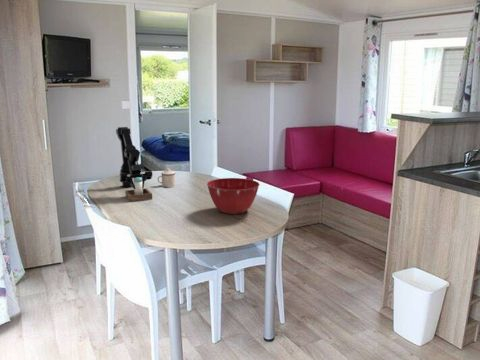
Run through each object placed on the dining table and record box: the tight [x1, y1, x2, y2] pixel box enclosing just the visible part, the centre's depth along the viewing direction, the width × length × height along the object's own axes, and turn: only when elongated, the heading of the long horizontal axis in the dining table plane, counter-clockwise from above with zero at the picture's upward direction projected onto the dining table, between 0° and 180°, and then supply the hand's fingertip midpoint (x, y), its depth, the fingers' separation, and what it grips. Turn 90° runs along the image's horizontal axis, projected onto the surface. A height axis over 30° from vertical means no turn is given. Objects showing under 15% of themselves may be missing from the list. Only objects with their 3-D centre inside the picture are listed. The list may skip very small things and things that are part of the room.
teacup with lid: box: [157, 168, 176, 188], centre depth 290 cm, size 12×9×12 cm
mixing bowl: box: [206, 177, 260, 215], centre depth 239 cm, size 28×28×15 cm
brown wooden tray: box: [124, 188, 153, 203], centre depth 260 cm, size 13×13×4 cm
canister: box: [133, 177, 144, 195], centre depth 258 cm, size 7×5×12 cm
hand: (138, 188), depth 257 cm, fingers closed on canister, 5 cm apart
